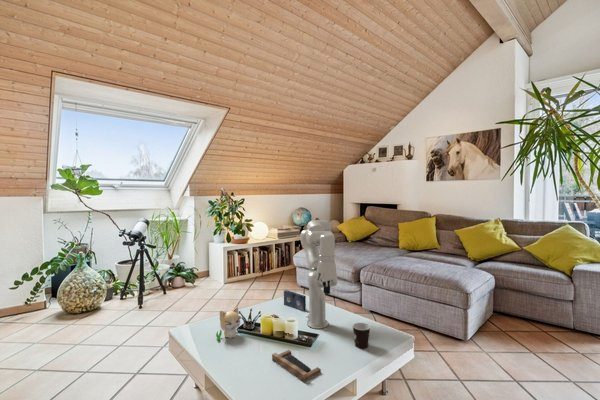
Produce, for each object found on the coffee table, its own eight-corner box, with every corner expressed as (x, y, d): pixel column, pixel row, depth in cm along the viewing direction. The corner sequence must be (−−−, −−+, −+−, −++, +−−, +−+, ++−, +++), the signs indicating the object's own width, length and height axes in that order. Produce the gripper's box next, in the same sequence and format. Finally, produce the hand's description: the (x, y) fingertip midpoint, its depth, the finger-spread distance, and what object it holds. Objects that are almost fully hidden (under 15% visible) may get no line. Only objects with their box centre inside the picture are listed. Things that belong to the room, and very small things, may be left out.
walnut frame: (272, 360, 144) (272, 354, 144) (288, 352, 151) (288, 346, 151) (303, 382, 128) (303, 374, 128) (320, 372, 135) (320, 365, 134)
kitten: (219, 344, 160) (219, 315, 160) (212, 336, 168) (212, 309, 168) (246, 336, 169) (245, 309, 168) (238, 329, 177) (237, 303, 176)
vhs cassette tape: (306, 310, 204) (305, 295, 203) (302, 311, 202) (302, 296, 201) (286, 303, 216) (286, 289, 216) (283, 304, 214) (283, 290, 214)
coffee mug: (370, 350, 152) (370, 330, 152) (352, 349, 154) (352, 329, 154) (369, 339, 164) (369, 320, 163) (353, 338, 165) (353, 319, 165)
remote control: (283, 362, 144) (303, 376, 132) (283, 358, 144) (302, 372, 132) (292, 358, 147) (312, 372, 135) (292, 355, 147) (311, 368, 135)
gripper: (332, 254, 164) (331, 287, 166) (311, 259, 155) (311, 294, 156) (342, 257, 159) (342, 291, 160) (321, 262, 149) (321, 299, 151)
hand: (326, 293), depth 158 cm, fingers closed
